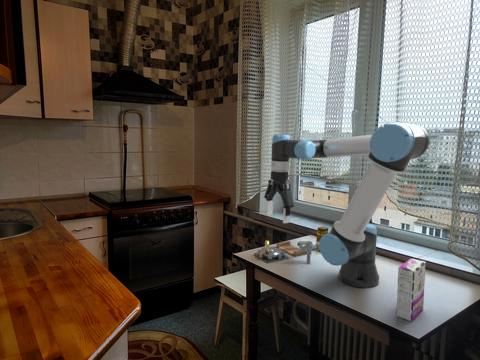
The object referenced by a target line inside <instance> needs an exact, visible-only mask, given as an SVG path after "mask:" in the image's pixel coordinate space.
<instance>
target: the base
mask: <svg viewBox="0 0 480 360" xmlns="http://www.w3.org/2000/svg"><path fill="white" fill-rule="evenodd" d="M253 256H254V257H256V258H258V259H259V260H261V261H263V262H265V263H266V264H271V263H276V262H279V261H280V262H281V261H285V260H290V256H289V255H286V254H285V256H282V258H280V259H278V258H274V259H268V258H265V257H263V258H261V257H259V254H258V252H255V253H253Z"/></svg>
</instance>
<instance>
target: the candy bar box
mask: <svg viewBox="0 0 480 360" xmlns="http://www.w3.org/2000/svg"><path fill="white" fill-rule="evenodd" d="M426 263H427V262H426V261H424V260H421V259H415V258H409V259H408V260H406V261H405V262H403V263H402V264H400V266H399V267H398V268H397V269H398V271H397V273H398V274H397V295H396V296H397V297H396V317H398V318H400V319H402V320H403V319H404V320H406V321H409V322H413V321H414V320H415V319H416V317H417V316H418V315H420V313H421V312H422V311H423V310H424V299H425V298H424V297H425V282H426V281H425V279H426V265H427V264H426Z"/></svg>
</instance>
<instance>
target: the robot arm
mask: <svg viewBox="0 0 480 360" xmlns="http://www.w3.org/2000/svg"><path fill="white" fill-rule="evenodd" d="M271 139H272V140H271V159H270V160H271V161H270V162H271V163H270V169H271V171H270V179H268V184H267V186H266V187H267V188H266V190H265V193H264V196H263V198H264V199H265V200H266V216H272V215H273V214H274V213H273V212H274V211H273V210H274V209H273V207H274V197H275V195H276V194H277V193H278V194H279V195H280V197H281V200H282V203H283V205H284V206H283V209H282V211H283V213H282V214H283V215H282V224H289V223H290V216H291V209H292V208H295V205H294V203H295V202H294V200H293V194H292V190H291V184H290V183H286V182H287V181H288V180H289V170H290V169H289V168H290V159H297V160H301V161H303V160H311V159H324V158H325V159H327V158H338V157H359V156H360V157H361V156H367V158H368V160H369V164H368V166H367V168H366V170H365V172H364V174H363V176H362V178H361V180H360V182H359V183H358V185H357V188H356V190H355V192H354V194H353V195H352V198H351V200H350V202H349V203H348V205H347V207H346V209H345V211H344V213H343V214H342V216H341V219H340V220H336V221H334V223H333V225H332V227H331V229H330V231H328V233H329V234H325V235H324V236H323V237H322V238H321V239H320V242H319V249H320V251H321V253H320V254H321V257H322V258H323V259H324V260H325V261H326V262H327V263H328V264H330V265H332V266H334V267H335V266H337V267H338V266H340V269H339V271H338V279H339V280H340V282H342V283H344V284H346V285H349V286H351V287H356V288H357V287H358V288H366V289H367V288H373V287H377V286H378V285H379V284H380V275H379V273H378V269H377V265H376V254H377V241H378V240H377V237H378V233H377V232H378V231H377V230H378V229H377V226H375V225H374V224H371V223H370V221H371V220H372V217H373V216H374V215H375V213H376V211H377V209H378V208H379V205H380V204H381V202H382V200H383V198H384V197H385V194H386V193H387V191H388V190H389V188H390V186H391V184H392V182H393V180H394V178H395V177H396V175H398V174H401V173H404V172H405V170H406V168H407V166H408V165H409V163H410V161H411V160H414V159H418V158H419V157H421V156H423V155H424V154H425V153H426V152H427V150H428V148H429V146H430V141H431V140H430V135H429V133H428V131H427V130H426V129H425V127H422V126H421V125H420V124H416V123H406V122H401V121H400V122H399V121H393V122H388V123H384V124H383V125H380V126H379V127H377V128H376V129H375V130H374V132H373V133H372V134H367V135H366V134H365V135H357V136H347V137H339V138H338V137H337V138H336V137H335V138H330V139H329V138H327V139H317V140H316V139H315V140H314V139H313V140H310V139H305V140H304V139H302V140H301V139H291V136H290V135H289V134H274V135H273V136H272V138H271Z"/></svg>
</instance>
